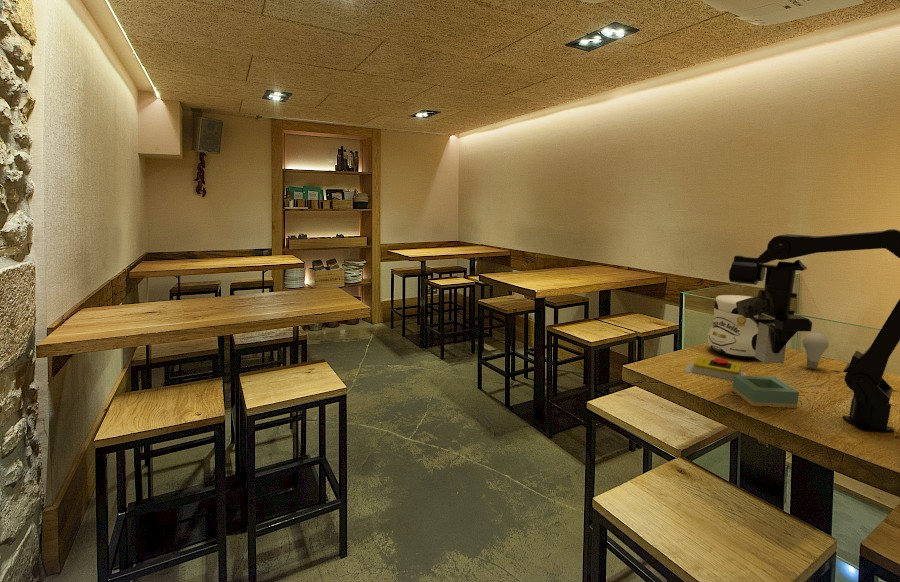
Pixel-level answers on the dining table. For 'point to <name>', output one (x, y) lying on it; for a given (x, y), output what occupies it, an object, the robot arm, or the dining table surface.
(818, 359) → the lightbulb
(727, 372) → the emergency button
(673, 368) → the dining table surface
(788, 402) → the socket block
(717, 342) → the milk container
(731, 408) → the dining table surface
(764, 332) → the grey rectangular block
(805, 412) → the dining table surface
